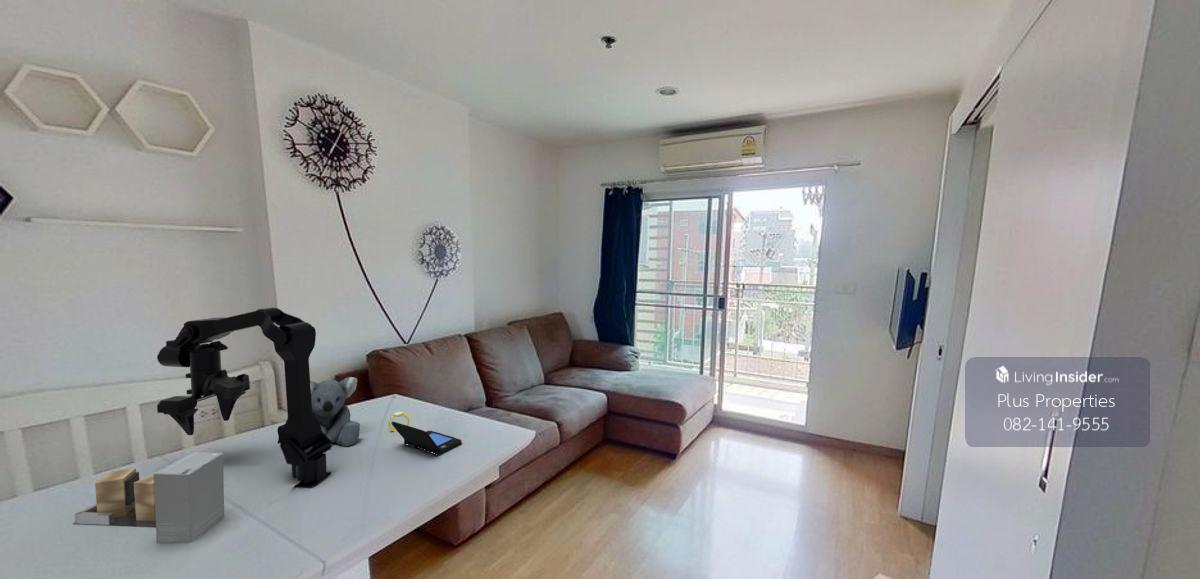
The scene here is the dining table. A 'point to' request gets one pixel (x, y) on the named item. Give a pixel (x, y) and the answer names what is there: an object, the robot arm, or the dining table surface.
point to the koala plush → (335, 410)
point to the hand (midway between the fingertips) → (209, 427)
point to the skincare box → (189, 497)
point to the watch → (398, 416)
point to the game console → (426, 439)
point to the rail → (110, 519)
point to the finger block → (116, 492)
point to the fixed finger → (145, 499)
